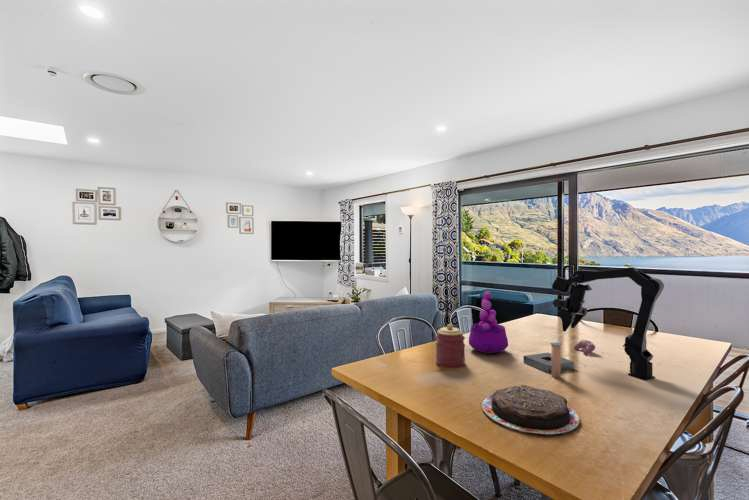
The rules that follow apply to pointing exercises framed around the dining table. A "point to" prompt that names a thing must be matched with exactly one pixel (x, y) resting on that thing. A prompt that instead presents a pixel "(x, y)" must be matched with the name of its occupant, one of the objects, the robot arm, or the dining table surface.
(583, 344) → the mauve curved piece
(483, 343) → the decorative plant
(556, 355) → the pin
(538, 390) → the chocolate cake
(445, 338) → the canister
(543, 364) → the dark grey square base
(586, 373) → the dining table surface
